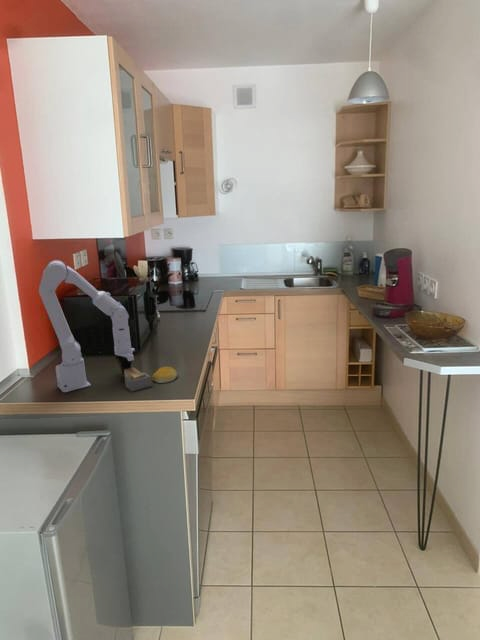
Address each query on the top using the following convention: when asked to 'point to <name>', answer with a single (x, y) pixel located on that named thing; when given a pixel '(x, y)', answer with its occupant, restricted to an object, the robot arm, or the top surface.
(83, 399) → the top surface
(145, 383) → the end cap
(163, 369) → the bread roll
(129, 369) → the brown wooden block
